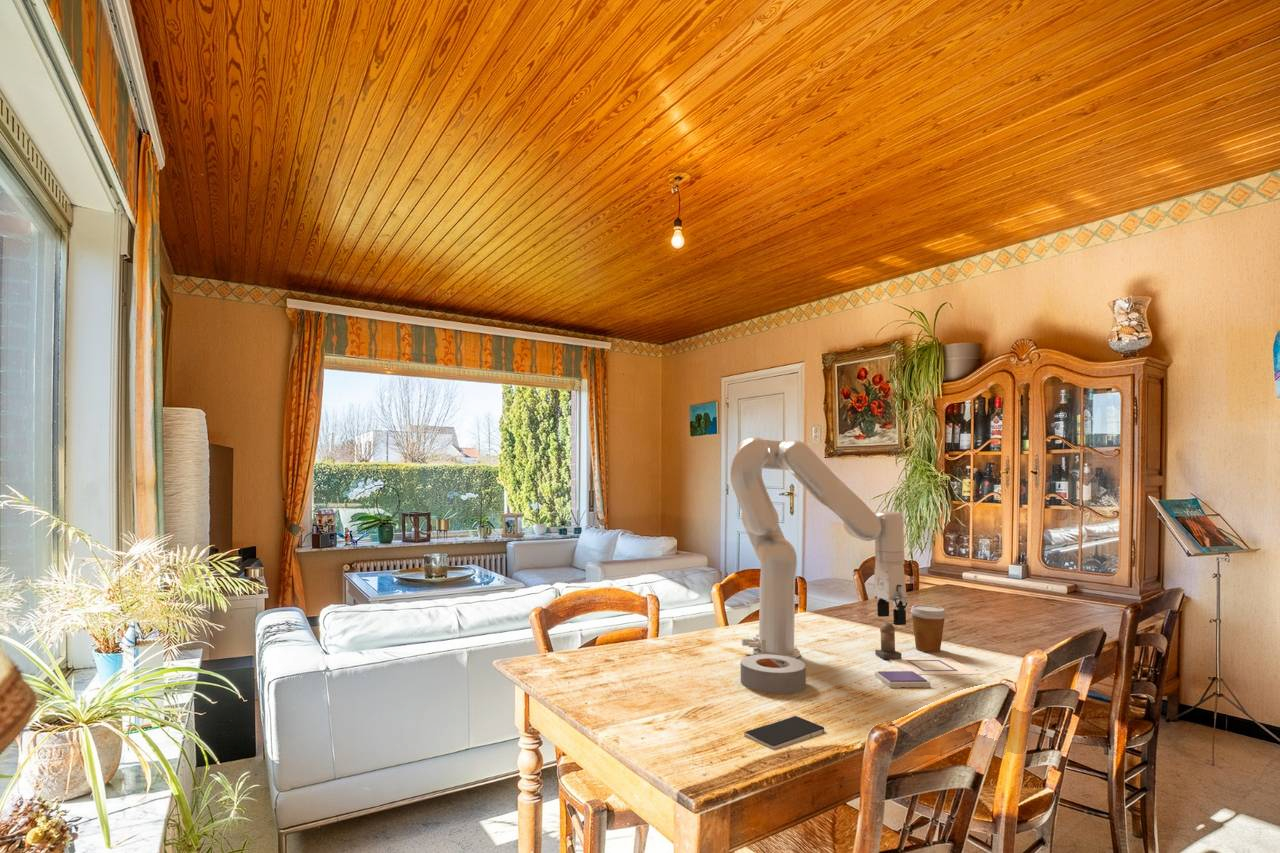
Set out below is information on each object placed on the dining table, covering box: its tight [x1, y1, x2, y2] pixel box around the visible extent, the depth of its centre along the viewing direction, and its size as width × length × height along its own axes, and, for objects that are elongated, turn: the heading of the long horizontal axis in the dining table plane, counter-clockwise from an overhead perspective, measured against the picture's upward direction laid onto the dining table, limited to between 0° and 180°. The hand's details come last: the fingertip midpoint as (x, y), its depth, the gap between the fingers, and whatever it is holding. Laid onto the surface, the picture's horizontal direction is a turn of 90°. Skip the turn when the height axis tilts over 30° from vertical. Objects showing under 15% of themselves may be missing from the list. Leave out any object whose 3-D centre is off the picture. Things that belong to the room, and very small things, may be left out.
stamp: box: [874, 622, 902, 660], centre depth 188 cm, size 5×5×9 cm
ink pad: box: [874, 670, 931, 689], centre depth 167 cm, size 10×8×2 cm
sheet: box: [887, 657, 980, 676], centre depth 180 cm, size 18×14×1 cm
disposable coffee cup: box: [909, 604, 947, 654], centre depth 196 cm, size 10×10×12 cm
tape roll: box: [740, 654, 807, 695], centre depth 164 cm, size 15×15×5 cm
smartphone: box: [743, 715, 825, 750], centre depth 134 cm, size 8×1×15 cm
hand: (891, 620), depth 187 cm, fingers open, 9 cm apart
